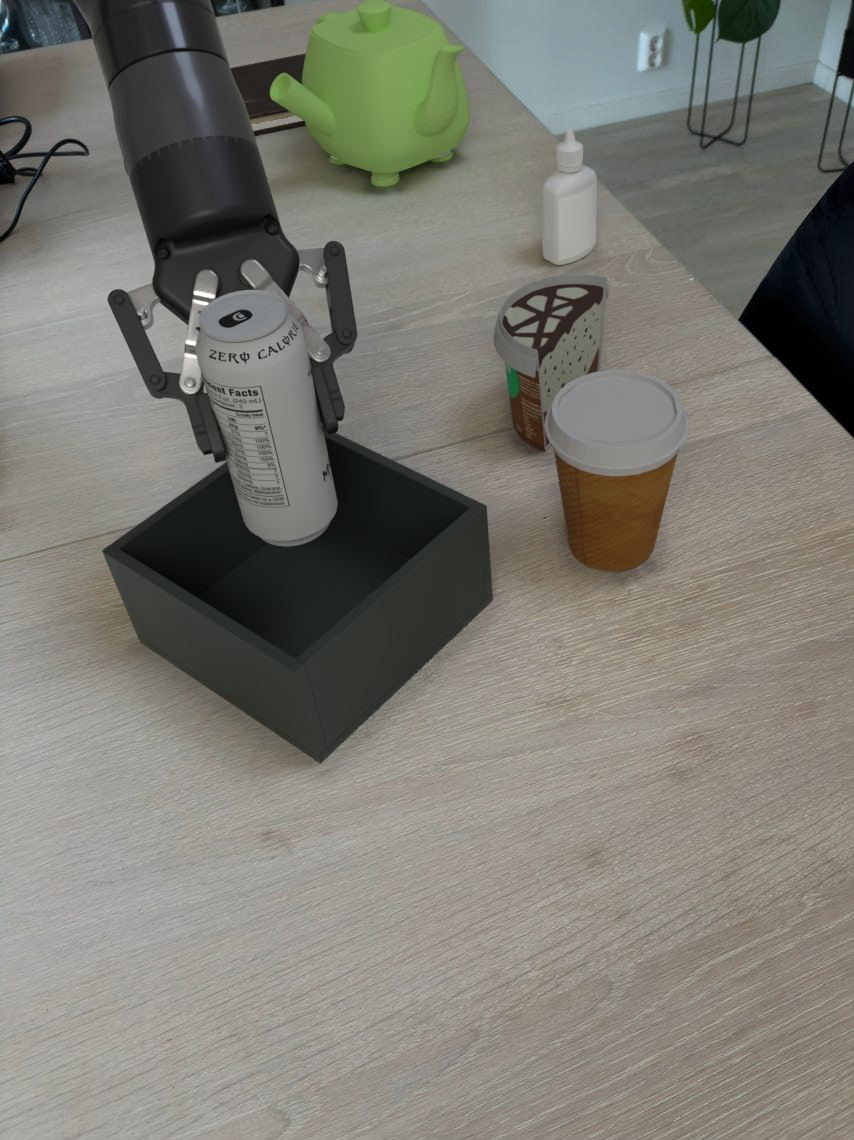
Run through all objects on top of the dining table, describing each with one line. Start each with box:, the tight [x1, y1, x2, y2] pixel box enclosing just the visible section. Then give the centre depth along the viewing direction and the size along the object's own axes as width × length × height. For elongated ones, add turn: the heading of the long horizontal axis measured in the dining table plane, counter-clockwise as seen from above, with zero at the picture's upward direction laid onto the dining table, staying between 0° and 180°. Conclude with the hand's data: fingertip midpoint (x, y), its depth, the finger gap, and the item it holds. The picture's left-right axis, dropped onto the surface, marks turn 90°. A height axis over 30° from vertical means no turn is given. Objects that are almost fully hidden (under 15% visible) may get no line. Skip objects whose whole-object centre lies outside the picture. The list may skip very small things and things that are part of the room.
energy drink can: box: [195, 290, 338, 546], centre depth 67 cm, size 6×6×15 cm
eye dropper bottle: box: [541, 128, 598, 266], centre depth 106 cm, size 4×6×12 cm
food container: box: [493, 273, 610, 453], centre depth 90 cm, size 12×6×10 cm, turn 149°
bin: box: [101, 425, 494, 764], centre depth 76 cm, size 18×18×9 cm
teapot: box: [270, 0, 471, 188], centre depth 119 cm, size 25×22×16 cm
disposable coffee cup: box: [544, 369, 690, 572], centre depth 78 cm, size 10×10×12 cm
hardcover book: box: [230, 52, 306, 137], centre depth 138 cm, size 16×23×2 cm
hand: (277, 444), depth 66 cm, fingers closed on energy drink can, 6 cm apart
